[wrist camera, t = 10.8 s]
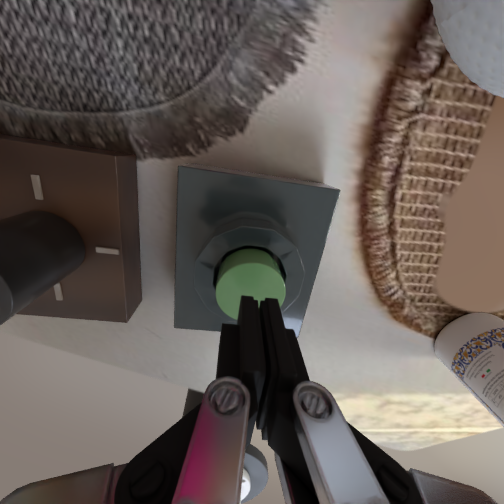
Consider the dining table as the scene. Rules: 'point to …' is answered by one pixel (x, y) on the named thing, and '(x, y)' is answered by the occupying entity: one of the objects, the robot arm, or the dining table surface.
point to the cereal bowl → (474, 39)
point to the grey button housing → (246, 237)
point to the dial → (34, 257)
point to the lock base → (80, 222)
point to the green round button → (248, 280)
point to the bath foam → (476, 357)
